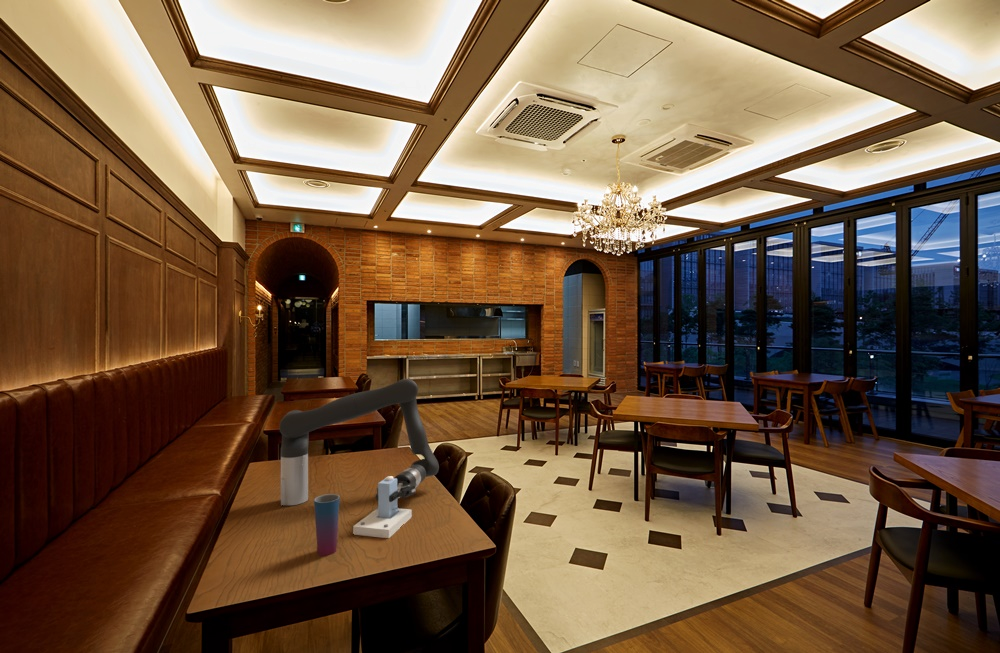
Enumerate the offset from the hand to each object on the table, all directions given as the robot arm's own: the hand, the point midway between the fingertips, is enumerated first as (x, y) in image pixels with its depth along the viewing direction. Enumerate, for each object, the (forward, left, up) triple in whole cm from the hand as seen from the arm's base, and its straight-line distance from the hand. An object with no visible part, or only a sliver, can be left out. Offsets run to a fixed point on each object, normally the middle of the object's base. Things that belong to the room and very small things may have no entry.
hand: (383, 498), depth 144 cm
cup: (-18, -10, -9) cm, 23 cm away
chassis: (0, 0, -9) cm, 9 cm away
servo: (+2, +2, -7) cm, 8 cm away
